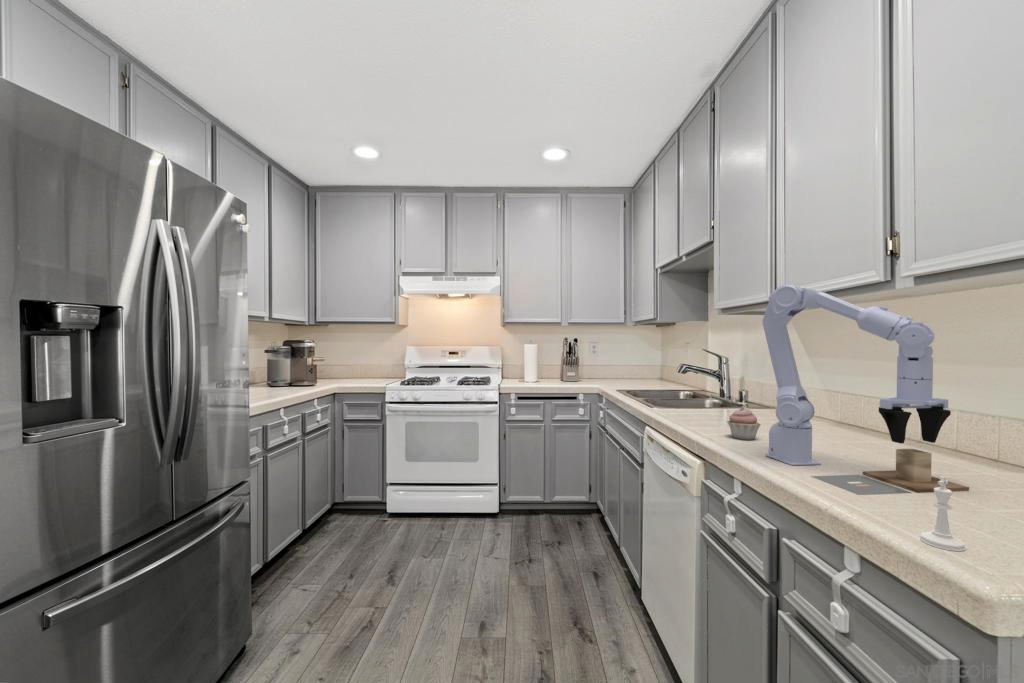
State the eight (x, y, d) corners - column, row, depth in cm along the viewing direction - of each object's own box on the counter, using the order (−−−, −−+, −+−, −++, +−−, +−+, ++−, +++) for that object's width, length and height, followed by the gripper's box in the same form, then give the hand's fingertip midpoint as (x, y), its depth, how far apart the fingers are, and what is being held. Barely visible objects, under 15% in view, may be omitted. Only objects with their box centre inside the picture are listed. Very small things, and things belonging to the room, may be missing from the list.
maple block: (895, 476, 98) (896, 448, 98) (911, 475, 98) (912, 448, 98) (914, 482, 94) (914, 453, 94) (931, 481, 94) (931, 453, 94)
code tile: (810, 476, 99) (810, 476, 99) (858, 475, 101) (858, 474, 101) (858, 495, 88) (858, 494, 88) (912, 493, 89) (912, 492, 89)
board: (862, 475, 101) (862, 471, 101) (909, 473, 103) (909, 470, 103) (917, 493, 89) (917, 489, 89) (968, 491, 91) (969, 487, 91)
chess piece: (912, 539, 68) (913, 473, 68) (931, 534, 70) (932, 470, 70) (953, 553, 64) (954, 483, 64) (973, 548, 66) (974, 480, 65)
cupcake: (721, 434, 143) (721, 403, 143) (751, 435, 143) (751, 403, 143) (734, 441, 134) (735, 408, 134) (766, 441, 134) (767, 408, 134)
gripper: (903, 380, 91) (901, 447, 91) (964, 380, 93) (963, 445, 93) (871, 377, 98) (870, 439, 98) (929, 377, 100) (928, 438, 100)
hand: (913, 442), depth 96 cm, fingers open, 7 cm apart
